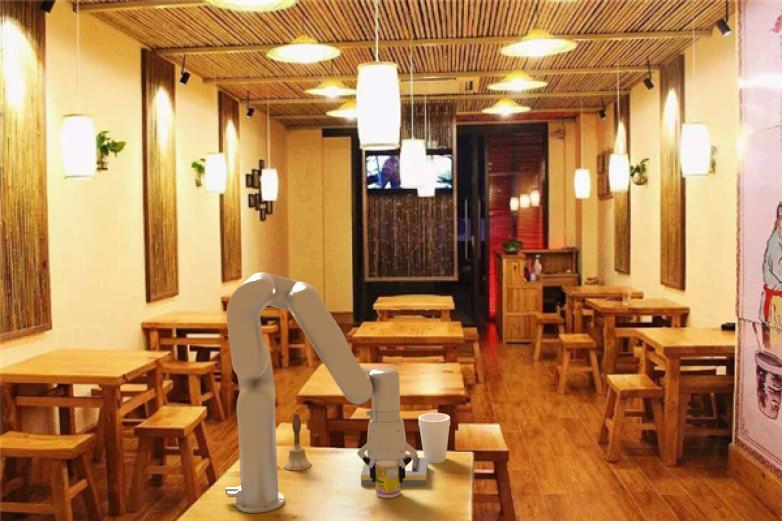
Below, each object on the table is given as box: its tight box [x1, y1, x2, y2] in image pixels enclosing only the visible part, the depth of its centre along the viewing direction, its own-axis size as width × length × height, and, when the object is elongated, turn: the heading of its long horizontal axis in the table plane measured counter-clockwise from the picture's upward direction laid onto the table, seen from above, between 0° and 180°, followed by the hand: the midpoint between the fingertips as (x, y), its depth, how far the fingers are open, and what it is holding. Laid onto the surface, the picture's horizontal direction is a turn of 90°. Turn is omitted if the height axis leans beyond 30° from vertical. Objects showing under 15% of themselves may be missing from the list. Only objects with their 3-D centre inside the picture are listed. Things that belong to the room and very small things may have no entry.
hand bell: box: [283, 412, 312, 472], centre depth 216 cm, size 8×8×16 cm
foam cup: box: [417, 412, 451, 464], centre depth 219 cm, size 10×9×13 cm
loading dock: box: [360, 457, 429, 487], centre depth 206 cm, size 18×14×3 cm
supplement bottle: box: [375, 460, 401, 499], centre depth 193 cm, size 7×7×13 cm
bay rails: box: [404, 453, 419, 471], centre depth 208 cm, size 12×11×1 cm
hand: (387, 480), depth 193 cm, fingers closed on supplement bottle, 6 cm apart
